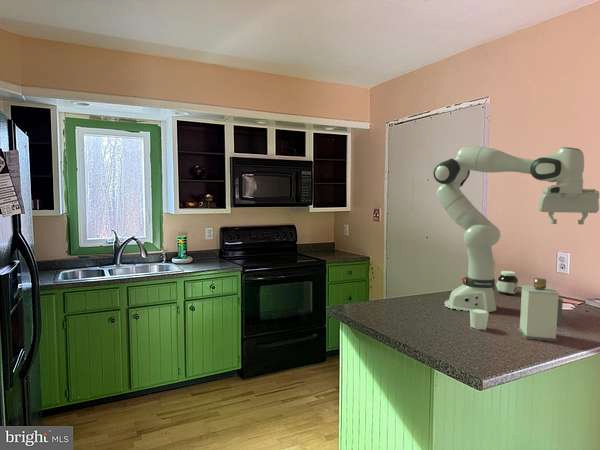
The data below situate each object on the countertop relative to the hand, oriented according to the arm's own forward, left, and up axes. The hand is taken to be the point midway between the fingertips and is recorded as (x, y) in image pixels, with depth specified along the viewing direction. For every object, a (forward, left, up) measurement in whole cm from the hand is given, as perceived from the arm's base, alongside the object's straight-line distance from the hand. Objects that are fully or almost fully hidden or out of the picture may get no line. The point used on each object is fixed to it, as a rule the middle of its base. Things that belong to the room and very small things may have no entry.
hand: (567, 224), depth 164 cm
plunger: (-13, -16, -40) cm, 45 cm away
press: (-12, -16, -41) cm, 46 cm away
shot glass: (-33, -13, -41) cm, 54 cm away
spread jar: (-10, +53, -41) cm, 68 cm away
